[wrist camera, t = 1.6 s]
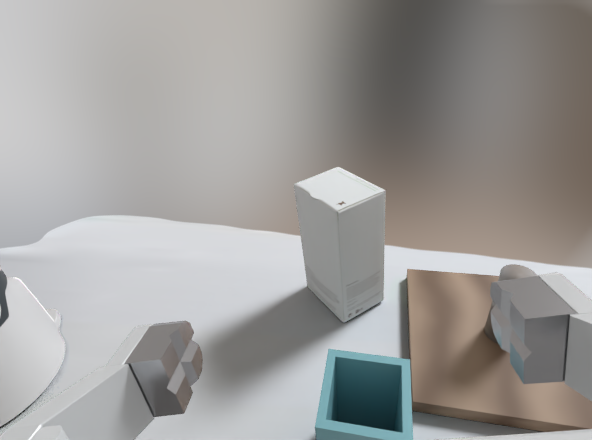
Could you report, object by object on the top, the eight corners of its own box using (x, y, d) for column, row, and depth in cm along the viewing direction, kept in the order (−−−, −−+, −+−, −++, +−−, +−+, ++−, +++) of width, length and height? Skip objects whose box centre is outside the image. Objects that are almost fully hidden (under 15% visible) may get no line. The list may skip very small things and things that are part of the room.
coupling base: (411, 410, 34) (422, 343, 29) (406, 277, 48) (412, 217, 43) (643, 447, 30) (705, 377, 25) (562, 290, 44) (590, 225, 39)
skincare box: (384, 302, 45) (391, 190, 37) (340, 327, 43) (337, 213, 34) (342, 266, 52) (340, 163, 43) (302, 286, 49) (291, 180, 40)
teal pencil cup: (322, 494, 29) (314, 427, 24) (332, 419, 34) (328, 348, 28) (401, 511, 28) (413, 444, 22) (400, 430, 33) (409, 359, 27)
